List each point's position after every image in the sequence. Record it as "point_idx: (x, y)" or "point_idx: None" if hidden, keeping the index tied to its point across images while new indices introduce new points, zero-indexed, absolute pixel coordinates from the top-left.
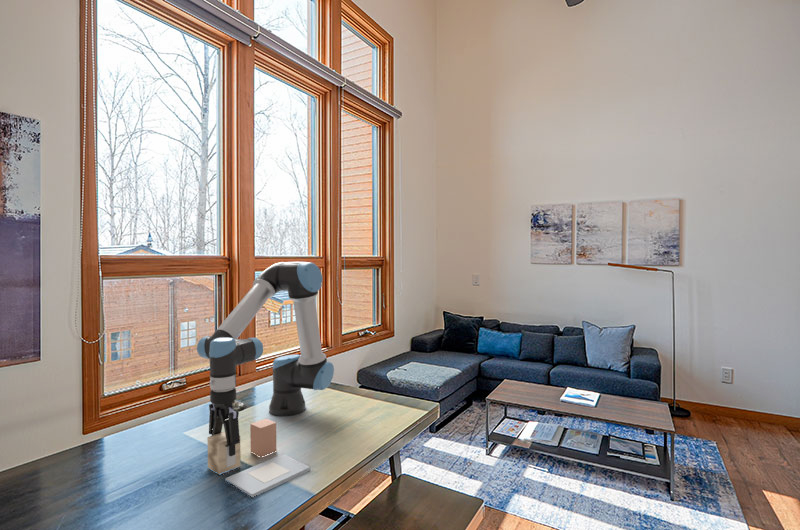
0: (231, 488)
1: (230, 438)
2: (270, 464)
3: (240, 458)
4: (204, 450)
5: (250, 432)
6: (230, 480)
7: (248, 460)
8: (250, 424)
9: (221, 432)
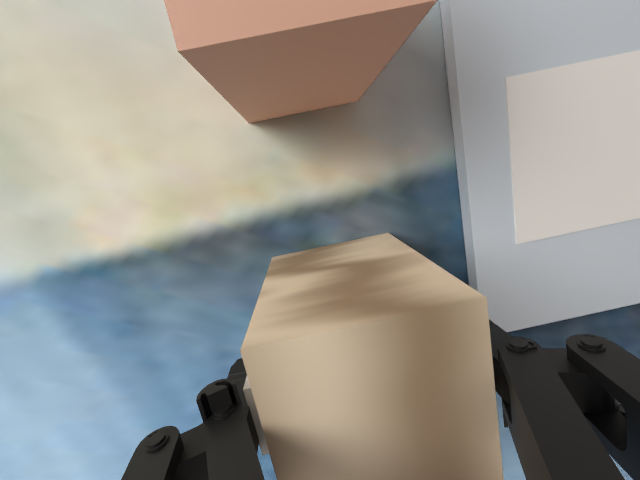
0: (546, 325)
1: (620, 455)
2: (522, 102)
3: (402, 242)
4: (49, 326)
5: (214, 87)
6: (520, 326)
7: (336, 170)
8: (185, 55)
9: (206, 395)
